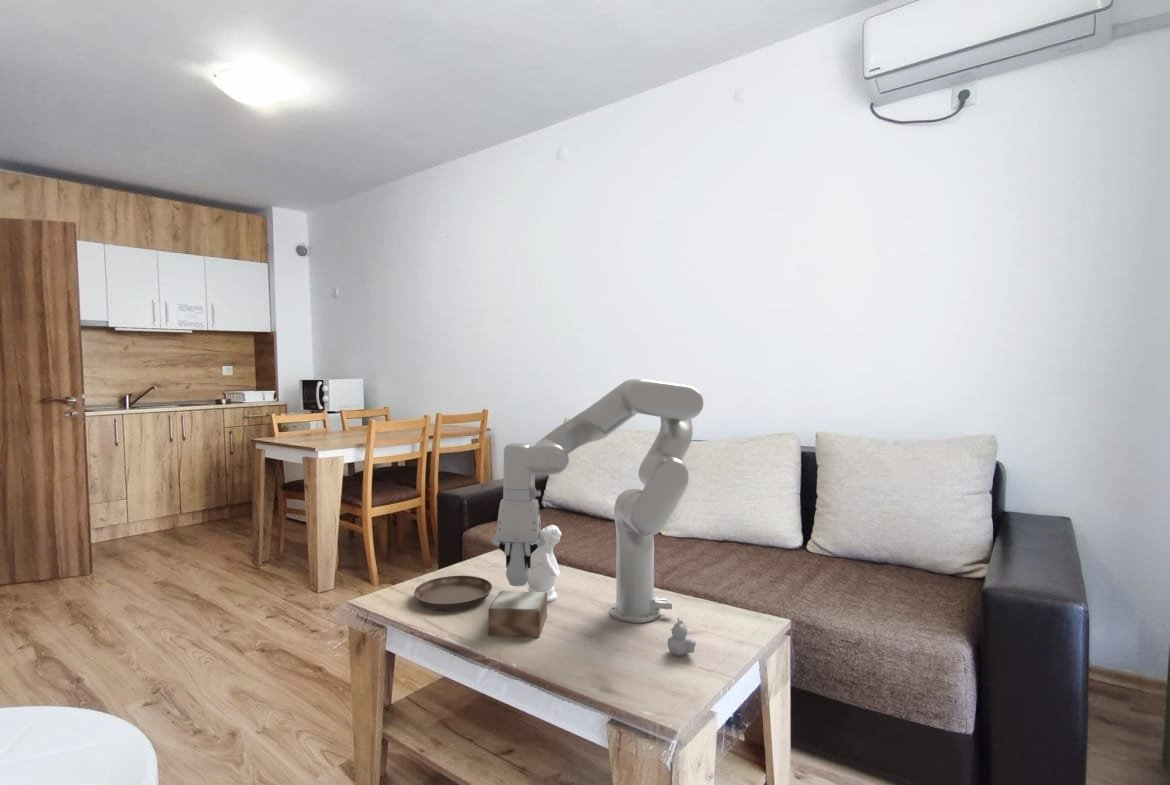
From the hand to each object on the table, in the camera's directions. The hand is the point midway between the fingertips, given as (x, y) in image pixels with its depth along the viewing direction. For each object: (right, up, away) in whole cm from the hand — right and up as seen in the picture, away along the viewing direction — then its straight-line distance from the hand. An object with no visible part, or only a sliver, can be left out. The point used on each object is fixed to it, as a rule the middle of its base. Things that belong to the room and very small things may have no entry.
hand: (518, 570), depth 143 cm
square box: (0, -14, 0) cm, 14 cm away
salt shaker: (0, -3, 0) cm, 3 cm away
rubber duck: (+37, -14, -15) cm, 42 cm away
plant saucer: (-20, -14, +18) cm, 30 cm away
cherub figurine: (+3, -14, +18) cm, 23 cm away
